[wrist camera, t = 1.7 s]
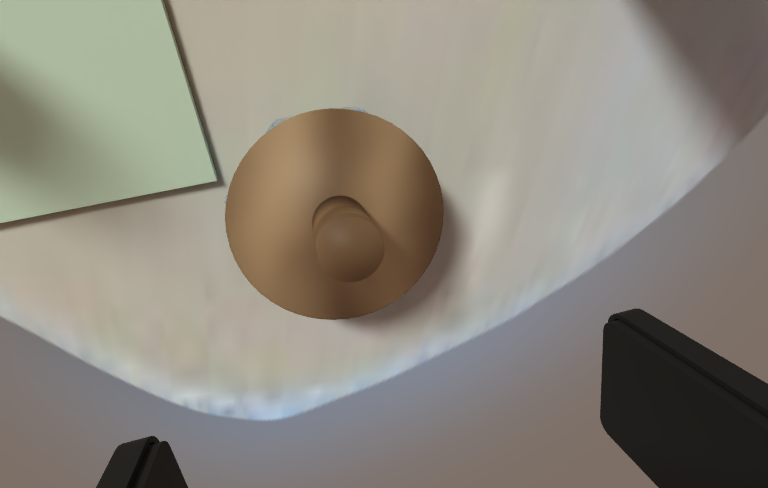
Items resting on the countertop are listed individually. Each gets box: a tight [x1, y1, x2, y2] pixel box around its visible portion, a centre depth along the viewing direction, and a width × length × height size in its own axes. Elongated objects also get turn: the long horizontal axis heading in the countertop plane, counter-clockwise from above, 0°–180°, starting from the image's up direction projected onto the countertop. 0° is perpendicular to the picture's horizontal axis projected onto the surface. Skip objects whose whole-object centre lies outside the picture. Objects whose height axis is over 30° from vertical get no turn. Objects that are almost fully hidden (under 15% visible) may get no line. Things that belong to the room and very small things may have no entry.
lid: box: [225, 109, 443, 320], centre depth 22 cm, size 13×13×6 cm
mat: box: [0, 0, 218, 223], centre depth 24 cm, size 14×14×1 cm
